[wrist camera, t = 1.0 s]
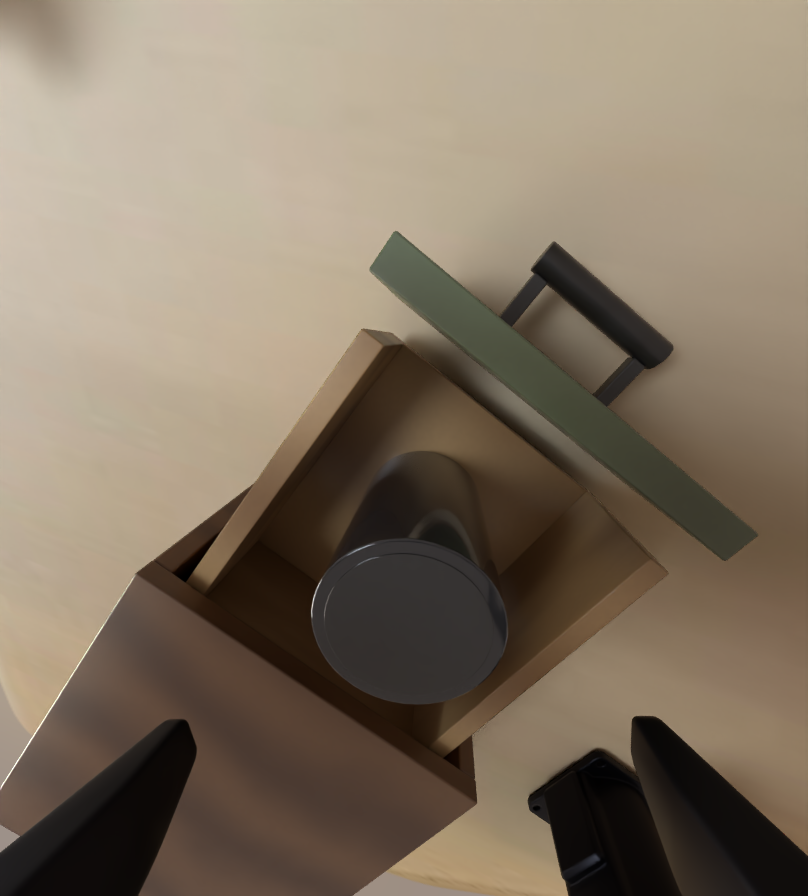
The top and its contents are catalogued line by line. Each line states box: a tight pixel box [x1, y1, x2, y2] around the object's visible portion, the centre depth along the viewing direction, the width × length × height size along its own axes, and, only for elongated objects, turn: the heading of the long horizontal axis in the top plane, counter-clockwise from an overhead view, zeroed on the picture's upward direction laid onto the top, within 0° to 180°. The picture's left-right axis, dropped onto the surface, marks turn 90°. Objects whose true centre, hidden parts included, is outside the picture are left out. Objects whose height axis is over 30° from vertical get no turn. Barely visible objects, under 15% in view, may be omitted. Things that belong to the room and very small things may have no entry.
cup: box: [311, 451, 508, 705], centre depth 14 cm, size 5×5×8 cm
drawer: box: [186, 231, 758, 758], centre depth 15 cm, size 19×13×7 cm
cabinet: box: [0, 484, 477, 896], centre depth 19 cm, size 17×15×9 cm
